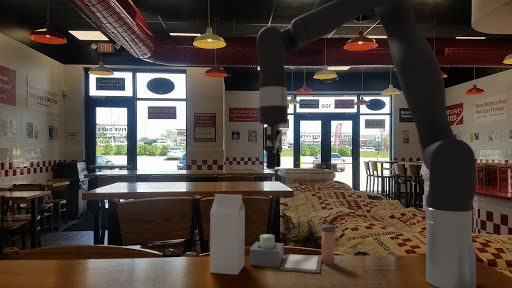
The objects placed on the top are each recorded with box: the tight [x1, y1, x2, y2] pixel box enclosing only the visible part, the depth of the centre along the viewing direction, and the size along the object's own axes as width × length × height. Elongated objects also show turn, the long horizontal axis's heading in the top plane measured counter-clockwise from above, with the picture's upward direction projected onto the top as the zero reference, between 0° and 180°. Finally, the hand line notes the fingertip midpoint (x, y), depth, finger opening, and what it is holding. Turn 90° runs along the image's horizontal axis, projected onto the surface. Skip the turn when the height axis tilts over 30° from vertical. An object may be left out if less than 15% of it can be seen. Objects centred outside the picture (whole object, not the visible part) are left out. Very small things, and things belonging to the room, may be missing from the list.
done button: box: [259, 233, 276, 249], centre depth 95 cm, size 4×4×5 cm
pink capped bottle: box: [321, 224, 336, 266], centre depth 93 cm, size 4×4×10 cm
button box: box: [248, 241, 285, 268], centre depth 95 cm, size 8×8×4 cm
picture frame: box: [279, 253, 322, 275], centre depth 92 cm, size 10×13×1 cm
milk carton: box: [209, 193, 246, 275], centre depth 88 cm, size 7×7×19 cm
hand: (273, 168), depth 90 cm, fingers open, 8 cm apart
